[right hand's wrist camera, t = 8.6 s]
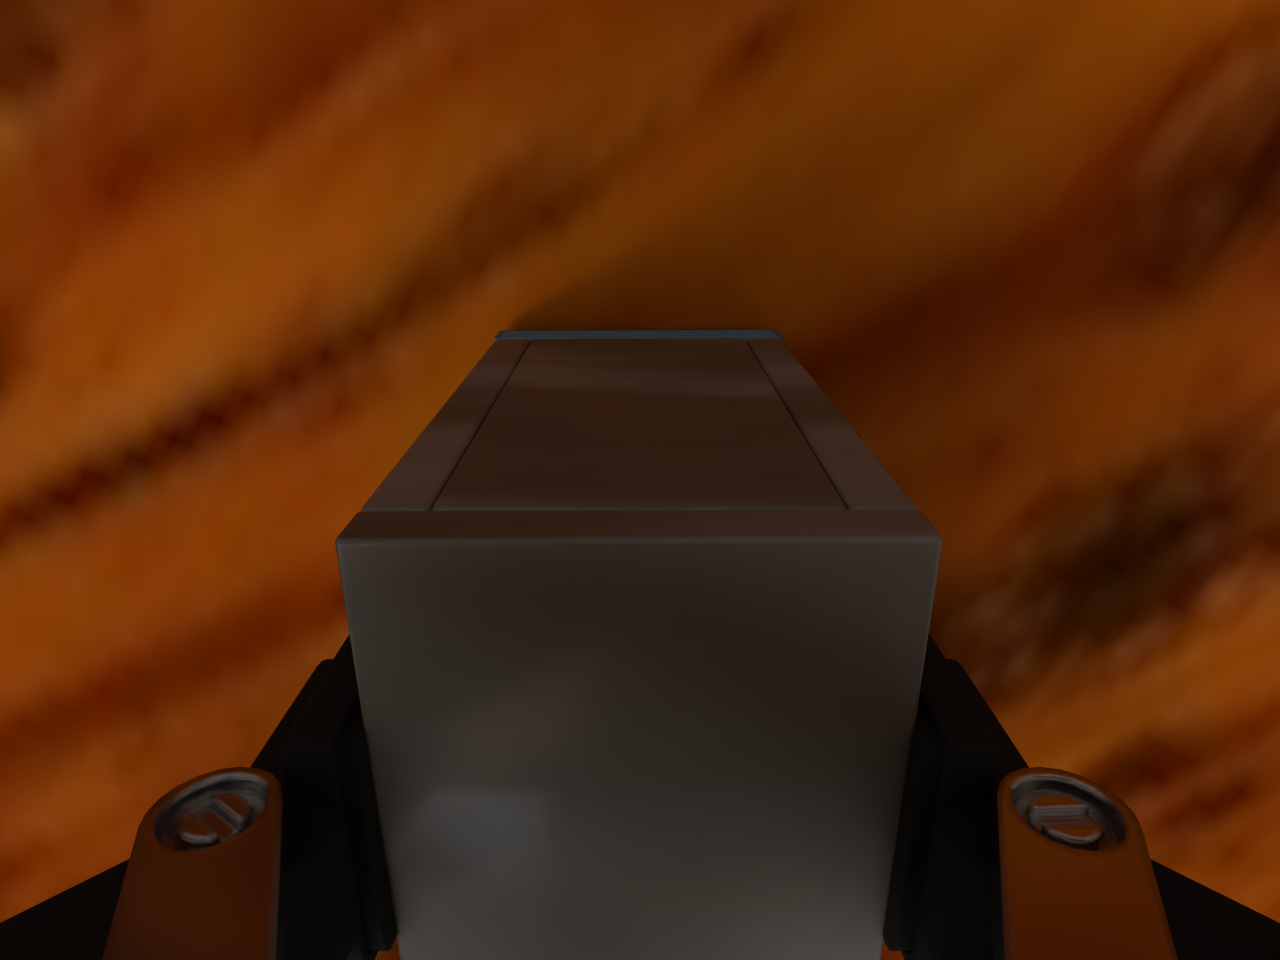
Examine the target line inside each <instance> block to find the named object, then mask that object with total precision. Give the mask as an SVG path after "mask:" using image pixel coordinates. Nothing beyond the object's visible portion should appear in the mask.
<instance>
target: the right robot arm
mask: <svg viewBox="0 0 1280 960" xmlns="http://www.w3.org/2000/svg"><path fill="white" fill-rule="evenodd" d="M883 937H884V940H885V943H886V945H887V947H888V949H889V950H891V951H902V954H903V957H904V960H1280V923H1278V922H1276V921H1274V920H1272V919H1270V918H1268V917H1266V916H1264V915H1262V914H1260V913H1258V912H1256V911H1254V910H1252V909H1250V908H1248V907H1246V906H1244V905H1242V904H1240V903H1238V902H1236V901H1234V900H1232V899H1230V898H1228V897H1226V896H1224V895H1222V894H1220V893H1218V892H1216V891H1214V890H1212V889H1210V888H1208V887H1206V886H1204V885H1202V884H1200V883H1197V882H1195V881H1193V880H1191V879H1189V878H1187V877H1185V876H1183V875H1181V874H1179V873H1177V872H1175V871H1173V870H1171V869H1169V868H1167V867H1165V866H1163V865H1161V864H1159V863H1157V862H1155V861H1153V860H1151V859H1150V856H1149V853H1148V849H1147V845H1146V842H1145V838H1144V834H1143V831H1142V828H1141V826H1140V824H1139V822H1138V820H1137V818H1136V816H1135V814H1134V812H1133V811H1132V810H1131V809H1130V808H1129V807H1128V806H1127V805H1126V804H1125V803H1124V802H1123V801H1122V800H1121V799H1120V798H1119V797H1118V796H1116V795H1115V794H1113V793H1112V792H1111V791H1109V790H1108V789H1106V788H1105V787H1103V786H1102V785H1100V784H1098V783H1096V782H1094V781H1091V780H1089V779H1087V778H1085V777H1083V776H1081V775H1077V774H1074V773H1071V772H1067V771H1064V770H1061V769H1053V768H1045V767H1032V768H1029V767H1028V765H1027V764H1026V762H1025V761H1024V759H1023V758H1022V756H1021V755H1020V753H1019V752H1018V750H1017V749H1016V747H1015V746H1014V744H1013V743H1012V741H1011V740H1010V738H1009V737H1008V735H1007V734H1006V732H1005V730H1004V729H1003V727H1002V726H1001V724H1000V723H999V721H998V720H997V718H996V717H995V715H994V714H993V712H992V711H991V709H990V708H989V706H988V705H987V703H986V702H985V700H984V699H983V697H982V696H981V694H980V693H979V691H978V690H977V688H976V687H975V685H974V684H973V682H972V681H971V679H970V678H969V676H968V675H967V673H966V672H965V670H964V669H963V667H962V666H961V665H960V664H959V663H958V662H957V661H956V660H953V659H945V657H944V656H943V654H942V653H941V651H940V650H939V648H938V646H937V645H936V643H935V642H934V640H933V639H932V637H931V635H930V634H928V640H927V647H926V654H925V661H924V667H923V674H922V681H921V688H920V694H919V701H918V708H917V715H916V721H915V728H914V731H913V738H912V745H911V751H910V758H909V764H908V771H907V778H906V784H905V791H904V798H903V804H902V811H901V817H900V824H899V831H898V837H897V844H896V851H895V857H894V864H893V870H892V877H891V884H890V890H889V897H888V904H887V910H886V917H885V923H884V930H883ZM395 938H396V928H395V922H394V916H393V909H392V903H391V896H390V890H389V884H388V877H387V871H386V864H385V858H384V852H383V845H382V838H381V832H380V825H379V819H378V812H377V806H376V799H375V793H374V786H373V780H372V773H371V767H370V760H369V753H368V747H367V740H366V734H365V729H364V724H363V717H362V711H361V704H360V698H359V691H358V685H357V679H356V672H355V666H354V659H353V653H352V647H351V640H350V634H349V636H348V637H347V639H346V640H345V642H344V644H343V645H342V647H341V648H340V650H339V651H338V653H337V655H336V656H335V658H334V659H327V660H323V661H322V662H321V663H320V664H319V665H318V666H317V667H316V669H315V670H314V672H313V673H312V675H311V676H310V678H309V679H308V681H307V682H306V684H305V685H304V687H303V688H302V690H301V692H300V693H299V695H298V696H297V698H296V699H295V701H294V702H293V704H292V705H291V707H290V708H289V710H288V711H287V713H286V714H285V716H284V717H283V719H282V720H281V722H280V723H279V725H278V726H277V728H276V729H275V731H274V732H273V734H272V735H271V737H270V738H269V740H268V741H267V743H266V744H265V746H264V747H263V749H262V750H261V752H260V753H259V755H258V756H257V758H256V759H255V761H254V762H253V764H252V765H251V767H250V768H248V767H235V768H227V769H219V770H216V771H213V772H209V773H206V774H203V775H199V776H197V777H195V778H193V779H191V780H189V781H186V782H184V783H182V784H180V785H178V786H177V787H175V788H174V789H172V790H171V791H169V792H168V793H167V794H165V795H164V796H162V797H161V798H160V799H159V800H158V801H157V802H156V803H155V804H154V805H153V806H152V807H151V808H150V809H149V810H148V811H147V812H146V814H145V816H144V818H143V820H142V822H141V824H140V826H139V828H138V831H137V834H136V838H135V842H134V845H133V849H132V853H131V856H130V859H128V860H126V861H124V862H122V863H120V864H118V865H116V866H114V867H112V868H110V869H108V870H106V871H104V872H102V873H100V874H98V875H96V876H94V877H92V878H90V879H88V880H86V881H84V882H82V883H80V884H78V885H76V886H74V887H72V888H70V889H68V890H66V891H64V892H62V893H60V894H58V895H56V896H54V897H52V898H50V899H48V900H46V901H44V902H42V903H40V904H37V905H35V906H33V907H31V908H29V909H27V910H25V911H23V912H21V913H19V914H17V915H15V916H13V917H11V918H9V919H7V920H5V921H3V922H1V923H0V960H375V958H376V955H377V952H378V951H388V950H390V949H391V947H392V946H393V943H394V941H395Z"/></svg>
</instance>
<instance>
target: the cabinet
mask: <svg viewBox="0 0 1280 960" xmlns="http://www.w3.org/2000/svg"><path fill="white" fill-rule="evenodd" d="M335 544H336V551H337V557H338V563H339V570H340V576H341V583H342V589H343V595H344V602H345V608H346V615H347V621H348V627H349V634H350V640H351V647H352V653H353V659H354V666H355V672H356V679H357V685H358V691H359V698H360V704H361V711H362V717H363V724H364V729H365V734H366V740H367V747H368V753H369V760H370V767H371V773H372V780H373V786H374V793H375V799H376V806H377V812H378V819H379V825H380V832H381V838H382V845H383V852H384V858H385V864H386V871H387V877H388V884H389V890H390V896H391V903H392V909H393V916H394V922H395V928H396V935H397V941H398V948H399V954H400V960H880V957H881V951H882V944H883V930H884V923H885V917H886V910H887V904H888V897H889V890H890V884H891V877H892V870H893V864H894V857H895V851H896V844H897V837H898V831H899V824H900V817H901V811H902V804H903V798H904V791H905V784H906V778H907V771H908V764H909V758H910V751H911V745H912V738H913V731H914V728H915V721H916V715H917V708H918V701H919V694H920V688H921V681H922V674H923V667H924V661H925V654H926V647H927V640H928V634H929V627H930V620H931V614H932V607H933V600H934V593H935V587H936V580H937V573H938V566H939V560H940V553H941V546H942V538H941V535H940V534H939V533H938V532H937V531H936V529H935V528H934V527H933V526H932V524H931V523H930V522H929V521H928V519H927V518H926V517H925V516H924V515H923V513H922V512H921V511H919V510H917V509H916V506H915V504H914V503H913V502H912V501H911V499H910V498H909V497H908V496H907V494H906V493H905V492H904V491H903V489H902V488H901V487H900V486H899V485H898V483H897V482H896V481H895V480H894V478H893V477H892V476H891V475H890V473H889V472H888V471H887V470H886V468H885V467H884V466H883V465H882V464H881V462H880V461H879V460H878V459H877V457H876V456H875V455H874V454H873V452H872V451H871V450H870V449H869V448H868V446H867V445H866V444H865V443H864V441H863V440H862V439H861V438H860V436H859V435H858V434H857V433H856V431H855V430H854V429H853V428H852V427H851V425H850V424H849V423H848V422H847V420H846V419H845V418H844V417H843V415H842V414H841V413H840V412H839V411H838V409H837V408H836V407H835V406H834V404H833V403H832V402H831V401H830V399H829V398H828V397H827V396H826V394H825V393H824V392H823V391H822V390H821V388H820V387H819V386H818V385H817V383H816V382H815V381H814V380H813V378H812V377H811V376H810V375H809V374H808V372H807V371H806V370H805V369H804V367H803V366H802V365H801V364H800V362H799V361H798V360H797V359H796V357H795V356H794V355H793V354H792V353H791V351H790V350H789V349H788V348H787V346H786V345H785V344H784V343H783V341H782V337H781V336H780V334H779V333H778V332H777V331H776V330H564V331H500V332H499V334H498V335H497V336H496V337H495V342H494V343H493V345H492V346H491V347H490V348H489V350H488V351H487V352H486V353H485V355H484V356H483V357H482V358H481V360H480V361H479V362H478V363H477V365H476V366H475V367H474V368H473V370H472V371H471V372H470V373H469V375H468V376H467V377H466V378H465V380H464V381H463V382H462V383H461V385H460V386H459V387H458V388H457V390H456V391H455V392H454V393H453V395H452V396H451V397H450V398H449V400H448V401H447V402H446V403H445V405H444V406H443V407H442V408H441V410H440V411H439V412H438V413H437V415H436V416H435V417H434V418H433V420H432V421H431V422H430V423H429V425H428V426H427V427H426V428H425V430H424V431H423V432H422V433H421V435H420V436H419V437H418V438H417V440H416V441H415V442H414V443H413V445H412V446H411V447H410V448H409V450H408V451H407V452H406V453H405V455H404V456H403V457H402V458H401V460H400V461H399V462H398V463H397V465H396V466H395V467H394V468H393V470H392V471H391V472H390V473H389V475H388V476H387V477H386V478H385V480H384V481H383V482H382V483H381V485H380V486H379V487H378V488H377V490H376V491H375V492H374V493H373V495H372V496H371V497H370V498H369V500H368V501H367V502H366V503H365V505H364V506H363V507H362V509H361V512H359V513H357V514H356V515H355V516H354V517H353V519H352V520H351V521H350V522H349V524H348V525H347V526H346V527H345V529H344V530H343V531H342V532H341V533H340V535H339V536H338V537H337V539H336V542H335Z"/></svg>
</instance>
